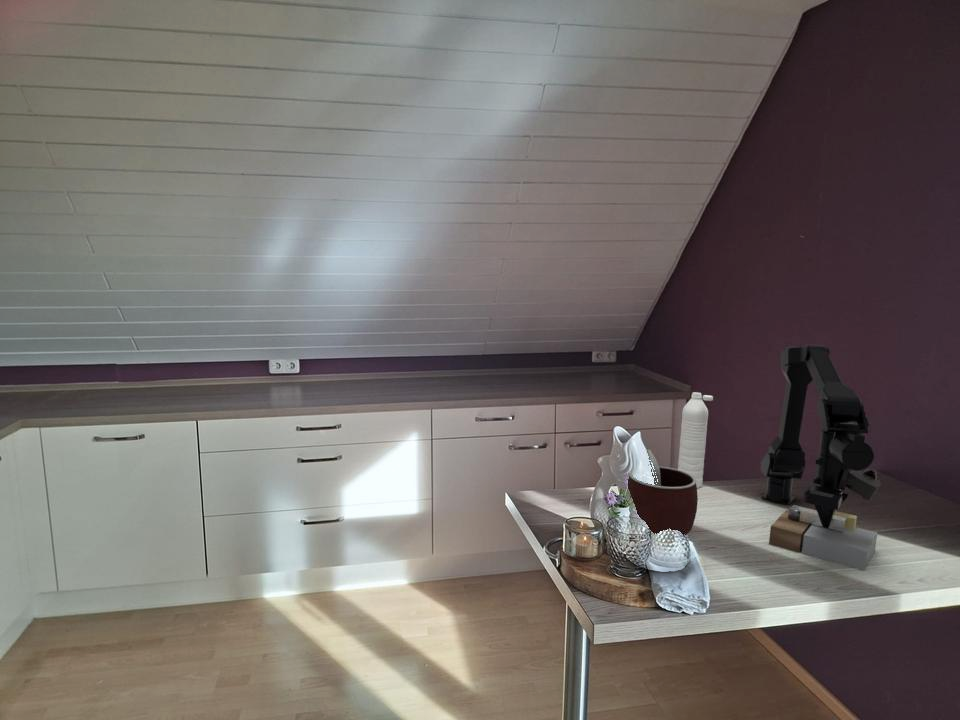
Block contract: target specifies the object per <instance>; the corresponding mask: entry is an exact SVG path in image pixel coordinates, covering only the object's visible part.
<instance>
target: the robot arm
mask: <svg viewBox="0 0 960 720" xmlns="http://www.w3.org/2000/svg"><path fill="white" fill-rule="evenodd" d="M779 360H780V364H781V367H780V369H781V372H782V373H783V375H784V378H785V380H786V383H785V390H784V397H783V403H782V409H781V414H780V415H781V416H780V422H779V423H780V424H779V430H778V435H777V437H775V438H774V439H773V441H772V442H771V443H770V444H769V447H768V450H767V451H768V452H767V453H766V454H765V455H764V457H763V459H762V460H761V462H760V472H761V473H762V475H764V476H765V477H766V478H767V483H766V491H765V492H764V494H762V495H761V499H763V500H768V501H772V502H776V503H780V504H783V505H790V504H791V503H792V502H793V501H794V500H795V498H796V496H795V495H792V490H793V489H792V488H793V479H797V480H801V479H802V477H803V475H804V471H805V467H806V465H807V464H806V463H807V461H806V458H805V457H806V453H805V451H804V450H803V447H802V445H801V443H800V438H801V431H802V425H803V419H804V413H805V407H806V400H807V393H808V387H809V385H810V384H811V383H812V382H813V383H814V385H815V387H816V391H817V393H818V395H819V397H818V400H817V404H816V413H817V416H818V418H819V421H820V424H819V428H821V432H820V439H819V440H820V441H819V449H818V450H819V451H818V457H816V459H815V465H817V467H816V475H815V477H814V478H813V482H812V484H813V485H810V487H808V488H807V489H806V490H805V491H804V494H803V502H804V503H805V504H809V505H813V506H814V507H815V510H816V511H817V513H818V515H819V518H820V521H821V524H822V526H823V527H824V528H829V526H830V524H831V521H832V518H833V516H834V513H835V511H837V510H839V508H840V507H841V506H842V505H843V504H844V503H845V501H846V499H847V498H848V497H849V494H848V493H845V492H846V491H847V489H848V490H850V491H852V492H853V493H855V494H858V495H860V496H861V497H862V498H863V499H864V500H866V501H872V499H873V497H874V496H875V494H876V492H877V491H878V489H879V488H880V486H881V485H882V483H881V480H880V479H878V477H877V476H878V472H877V471H876V470H874V469H872V468H868V467H869V466H871V465H872V463H873V461H874V458H875V454H874V450H873V449H872V447H871V446H870V444H869V443H866V442H865V440H866V439H865V438H866V437H865V435H866V434H867V435H868V433H869V429H868V428H869V426H870V424H869V420H868V416H867V413H866V411H865V406H864V403H863V401H861V398H860V397H859V396H858V394H857V393H856V391H855V390H853V389H852V388H850V387H848V386H846V385H845V384H844V383H843V381H842V378H841V377H840V375H839V373H838V371H837V369H836V367H835V364H834V363H833V361H832V359H831V356H830V348H829V347H828V346H825V345H823V344H822V345H820V344H806V345H802V346H791V345H790V346H787V347H786V348H785V349H784V350H782V351H781V353H780V359H779ZM867 468H868V469H867ZM865 469H866V470H865ZM862 470H863V471H862ZM814 484H815V485H814ZM843 491H844V492H843Z"/></svg>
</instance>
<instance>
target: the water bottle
mask: <svg viewBox="0 0 960 720" xmlns="http://www.w3.org/2000/svg"><path fill="white" fill-rule="evenodd" d="M704 401H706V402H707V401H708V402H709V401H710V402H712V401H714V396H713V395H709V394H708V395H707V394H704V395H702V393H701V392H698V391H695V392H693V391H692V393H691V398H690V399H689V400H688V401H687V402H686V404H685V405H684V407H683V409H682V413H681V415H682V416H681V418H682V419H681V428H680V430H681V431H680V437H679V438H680V439H679V451H678V452H679V453H678V463H677V469H678V470H681V471H684V472H687V473H689V474H691V475H692V476H694V477H695V478H696V486H697V489H698V488H699V489H700V488H701V487H702V486H703V481H704V480H703V478H704V477H703V476H704V468H705V462H704V461H705V456H706V455H705V454H706V447H707V446H706V445H707V444H706V443H707V433H708V432H707V430H708V420H709V409H708V408H707V406H706V404H705V402H704Z"/></svg>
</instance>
